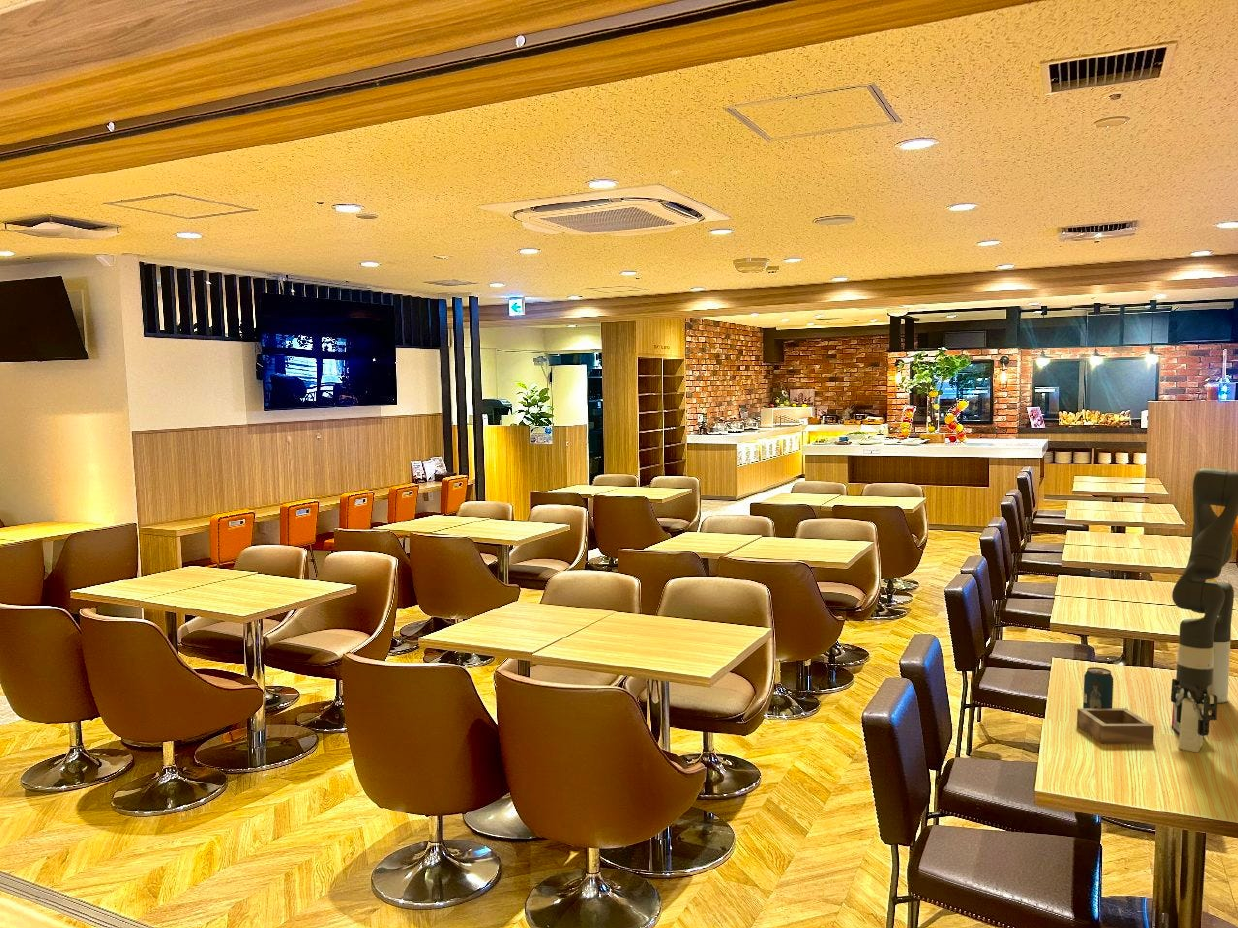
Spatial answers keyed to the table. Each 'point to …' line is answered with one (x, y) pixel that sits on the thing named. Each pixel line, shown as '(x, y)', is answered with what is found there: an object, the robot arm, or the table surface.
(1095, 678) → the soda can
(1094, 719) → the brown wooden square frame
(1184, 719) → the skincare box
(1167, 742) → the table surface
